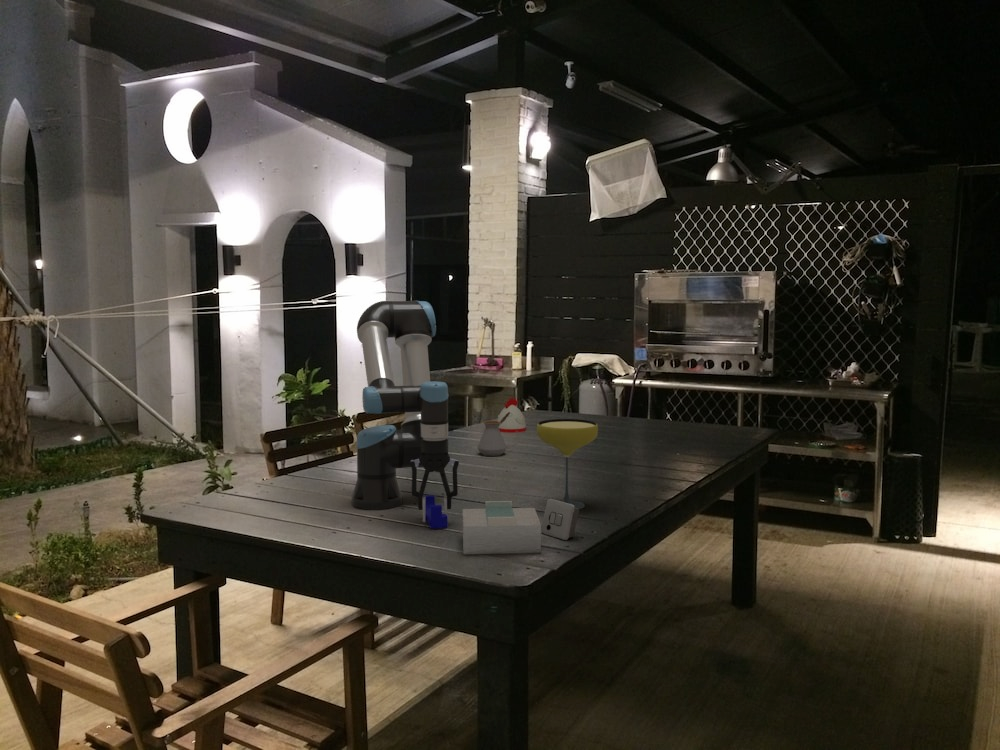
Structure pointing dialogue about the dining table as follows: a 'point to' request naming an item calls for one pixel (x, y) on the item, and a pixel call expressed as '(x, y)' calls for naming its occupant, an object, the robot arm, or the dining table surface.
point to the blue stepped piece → (434, 513)
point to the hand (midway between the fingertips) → (434, 520)
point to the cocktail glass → (567, 440)
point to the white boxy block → (501, 529)
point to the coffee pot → (492, 439)
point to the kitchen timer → (512, 418)
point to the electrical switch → (559, 519)
